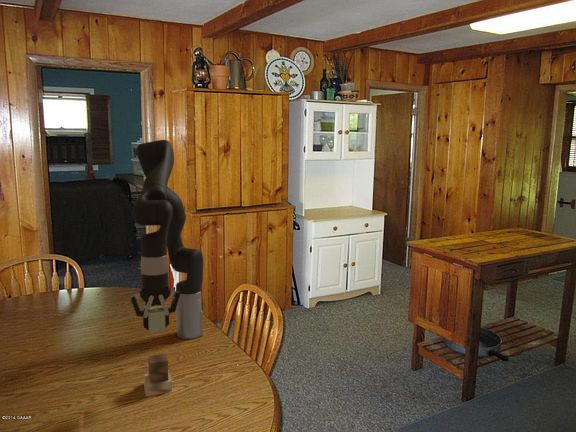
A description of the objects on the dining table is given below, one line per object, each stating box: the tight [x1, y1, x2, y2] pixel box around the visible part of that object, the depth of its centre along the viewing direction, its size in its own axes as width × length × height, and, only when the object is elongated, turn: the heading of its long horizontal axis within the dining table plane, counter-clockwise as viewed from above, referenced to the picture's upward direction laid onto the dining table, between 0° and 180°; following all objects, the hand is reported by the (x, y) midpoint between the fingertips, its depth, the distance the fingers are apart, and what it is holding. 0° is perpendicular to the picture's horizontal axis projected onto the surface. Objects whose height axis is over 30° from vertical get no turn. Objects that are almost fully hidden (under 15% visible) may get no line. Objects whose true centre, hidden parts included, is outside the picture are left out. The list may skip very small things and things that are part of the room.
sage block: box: [147, 305, 166, 334], centre depth 139 cm, size 4×4×6 cm
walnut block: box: [147, 353, 169, 383], centre depth 142 cm, size 5×5×6 cm
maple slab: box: [143, 370, 173, 396], centre depth 142 cm, size 7×7×3 cm
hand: (156, 327), depth 140 cm, fingers closed on sage block, 4 cm apart
